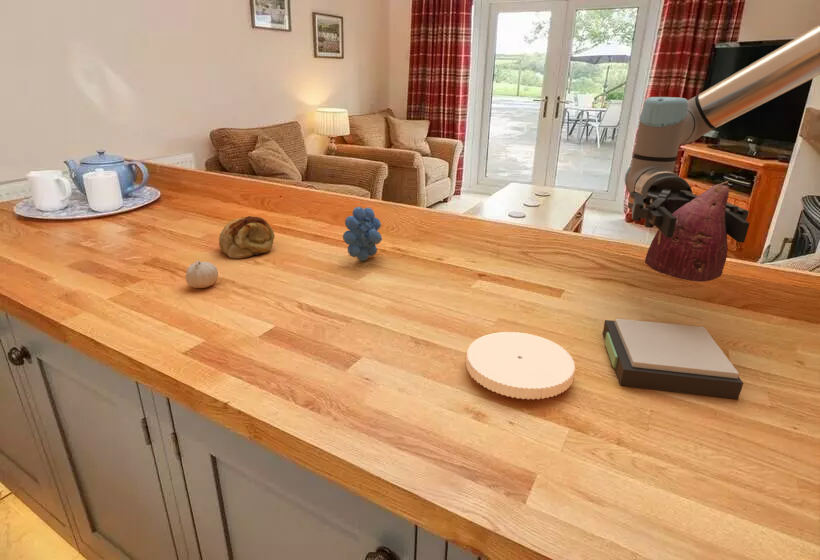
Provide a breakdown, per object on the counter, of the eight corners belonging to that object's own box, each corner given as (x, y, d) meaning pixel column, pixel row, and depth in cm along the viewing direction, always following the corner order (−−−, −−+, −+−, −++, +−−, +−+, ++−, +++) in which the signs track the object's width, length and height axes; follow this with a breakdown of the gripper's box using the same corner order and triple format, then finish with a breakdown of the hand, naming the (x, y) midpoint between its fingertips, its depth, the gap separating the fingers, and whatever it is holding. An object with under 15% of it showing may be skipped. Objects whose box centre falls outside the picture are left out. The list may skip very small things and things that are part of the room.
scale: (699, 343, 74) (705, 324, 73) (738, 399, 61) (745, 377, 60) (600, 333, 76) (603, 314, 75) (617, 385, 64) (622, 363, 62)
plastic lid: (472, 405, 59) (473, 388, 58) (460, 346, 72) (461, 331, 71) (587, 406, 59) (590, 389, 58) (555, 347, 72) (557, 332, 71)
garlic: (203, 294, 87) (199, 267, 85) (180, 289, 89) (175, 262, 87) (226, 282, 93) (223, 256, 90) (204, 277, 94) (200, 252, 92)
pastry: (248, 263, 102) (244, 226, 99) (204, 253, 107) (198, 217, 104) (291, 243, 114) (288, 210, 111) (249, 236, 119) (245, 203, 115)
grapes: (362, 273, 97) (361, 215, 93) (336, 266, 101) (334, 209, 96) (395, 257, 106) (396, 202, 102) (370, 251, 110) (370, 198, 105)
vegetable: (713, 284, 77) (769, 194, 71) (710, 299, 68) (773, 198, 62) (646, 254, 81) (694, 167, 75) (636, 265, 73) (689, 168, 67)
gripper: (721, 218, 87) (785, 262, 66) (596, 210, 90) (620, 250, 70) (733, 175, 84) (803, 208, 63) (603, 169, 87) (630, 198, 67)
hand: (707, 230), depth 67 cm, fingers closed on vegetable, 8 cm apart
